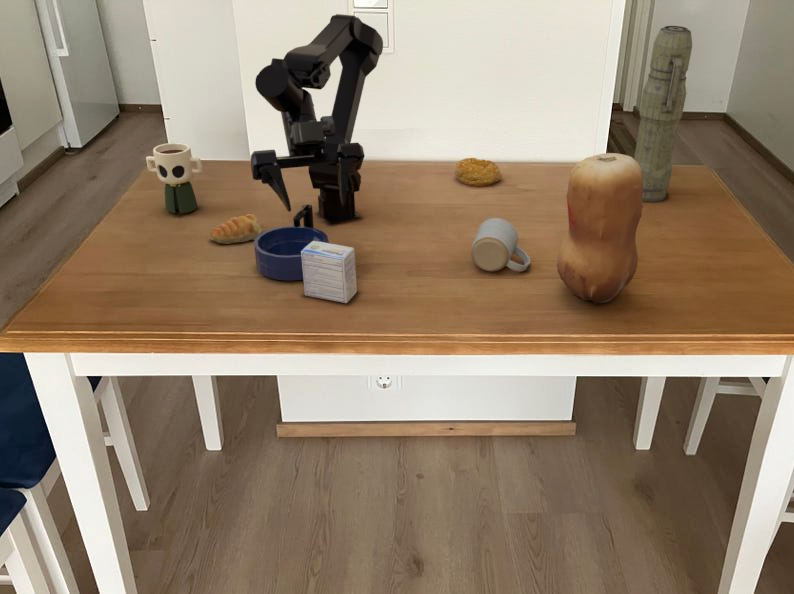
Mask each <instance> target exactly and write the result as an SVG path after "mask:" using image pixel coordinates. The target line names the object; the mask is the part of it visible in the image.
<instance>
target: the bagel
mask: <svg viewBox="0 0 794 594" xmlns="http://www.w3.org/2000/svg"><path fill="white" fill-rule="evenodd" d="M453 169H454V175H456V177H457V179H458V181H459V182H461V183H462V184H464V185H466V186H467V185H468V186H473V187H486V186H489V185H492V184H493V183H497V182H500V181H501V180H502V179H503V175H502V173H501V169H500V168H499V166H498V165H497V163H496V162H494V161H491V160H489V159H488V160H486V159H483V158H482V159H478V158H476V157H466V158H463V159H460V160H459V161H457V162H456V164H455V165H454V168H453Z"/></svg>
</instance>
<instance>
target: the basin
mask: <svg viewBox="0 0 794 594" xmlns="http://www.w3.org/2000/svg"><path fill="white" fill-rule="evenodd" d="M312 241H318V242H325V243H330V242H329V237H328V235H327V234H326V233H325V232H324V231H322V230H320V229H318V228H316V227H314V228H311V227H306V226H304V225H301V226H300V227H294V225H288V226H287V225H285V226H279V227H275V228H271V229H268V230H266V231H262V234H260V235H259V236H257V238H256V239H254V240H253V246H254V247H253V249H254V256H255V264H256V269H257V270H258V272H259V273H260V274H261V275H262V276H265V277H267V278H269V279H274V280H277V281H278V280H279V281H290V282H291V281H301V280H304V278H303V267H302V257H301V251H302V250H303V249H304V248H305V247H306V246H307V245H308V244H310V243H311V242H312Z"/></svg>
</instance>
